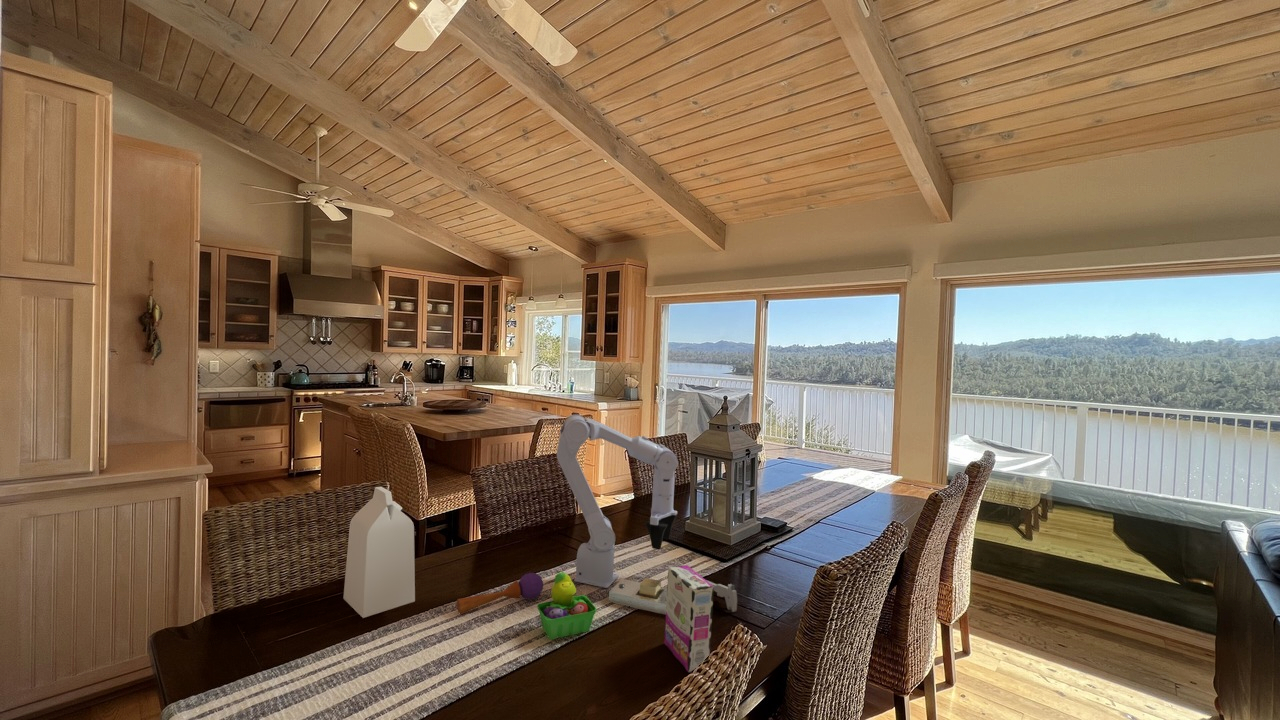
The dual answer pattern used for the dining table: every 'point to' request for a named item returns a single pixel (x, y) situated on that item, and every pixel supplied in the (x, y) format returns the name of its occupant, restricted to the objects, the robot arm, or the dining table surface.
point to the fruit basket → (565, 610)
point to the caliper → (727, 594)
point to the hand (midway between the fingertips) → (660, 543)
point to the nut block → (650, 588)
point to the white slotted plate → (637, 597)
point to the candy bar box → (688, 616)
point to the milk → (380, 557)
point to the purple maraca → (505, 593)
